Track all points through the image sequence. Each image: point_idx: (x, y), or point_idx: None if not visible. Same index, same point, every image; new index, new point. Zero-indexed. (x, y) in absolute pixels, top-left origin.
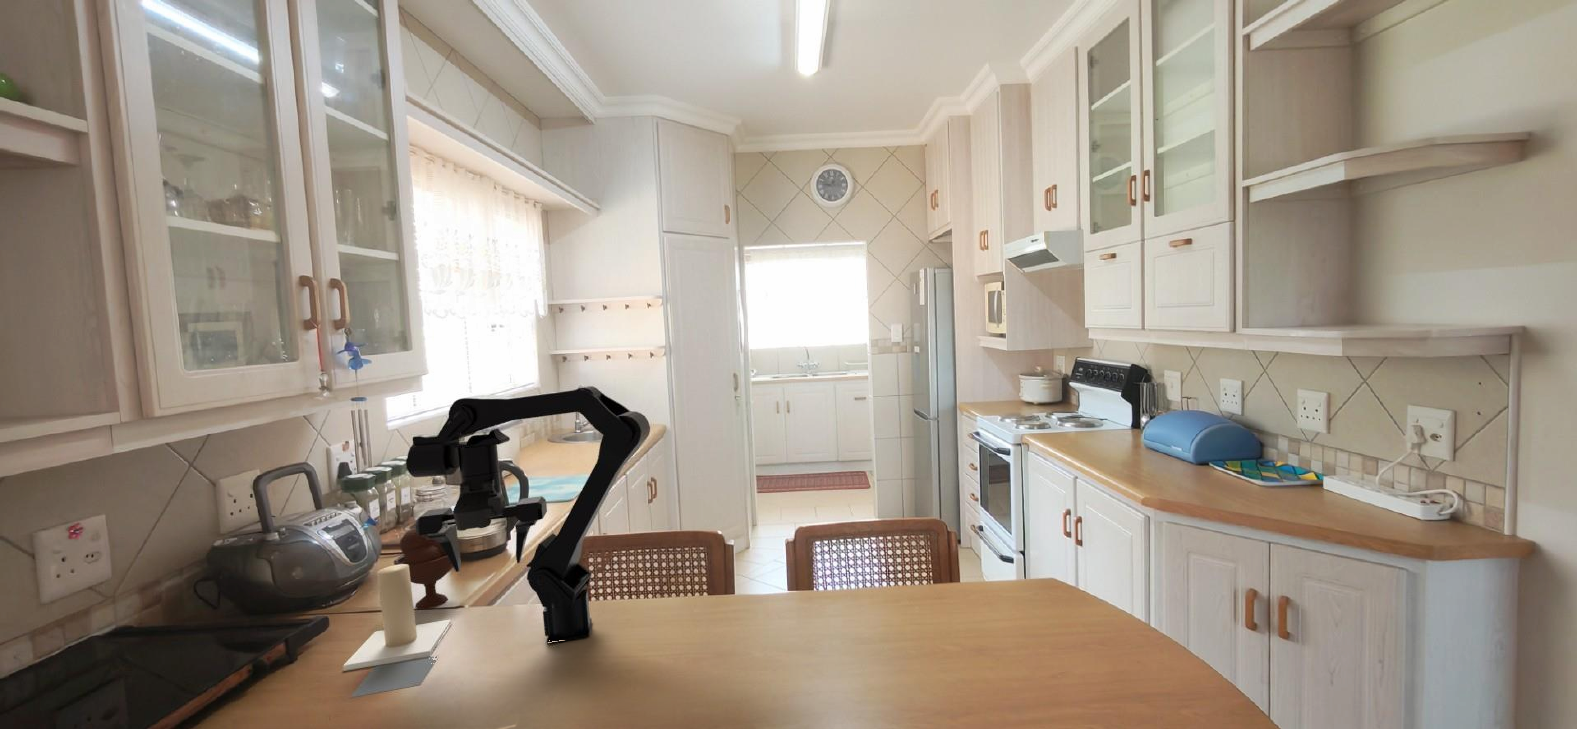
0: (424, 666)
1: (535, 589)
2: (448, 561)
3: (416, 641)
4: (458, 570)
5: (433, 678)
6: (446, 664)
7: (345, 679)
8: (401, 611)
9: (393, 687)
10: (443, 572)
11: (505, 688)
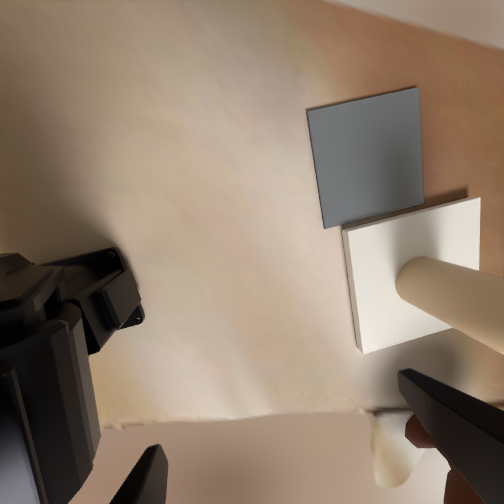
0: (334, 188)
1: (41, 287)
2: None
3: (390, 274)
4: (402, 373)
5: (296, 142)
6: (297, 196)
7: (454, 169)
8: (470, 286)
9: (355, 111)
10: (454, 486)
11: (114, 64)
